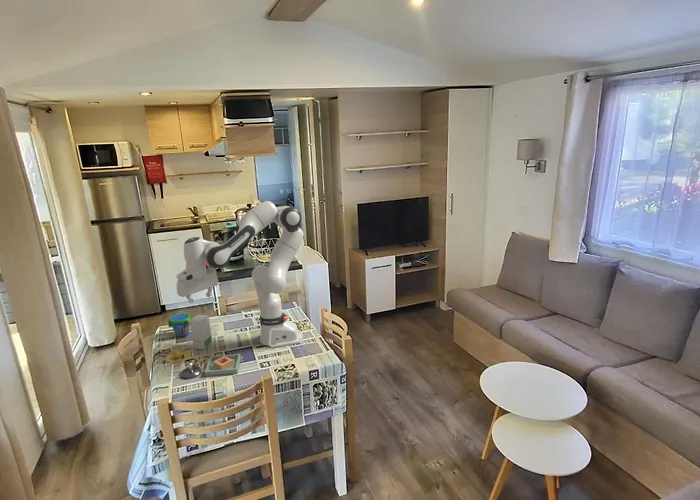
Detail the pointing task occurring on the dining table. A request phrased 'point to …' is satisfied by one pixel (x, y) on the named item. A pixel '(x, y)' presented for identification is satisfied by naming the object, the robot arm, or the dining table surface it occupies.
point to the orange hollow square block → (223, 363)
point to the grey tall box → (201, 331)
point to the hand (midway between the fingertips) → (200, 299)
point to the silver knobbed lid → (190, 372)
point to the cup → (177, 354)
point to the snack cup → (180, 324)
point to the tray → (216, 372)
